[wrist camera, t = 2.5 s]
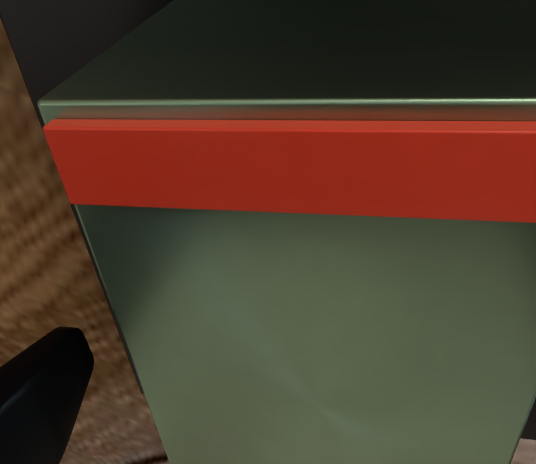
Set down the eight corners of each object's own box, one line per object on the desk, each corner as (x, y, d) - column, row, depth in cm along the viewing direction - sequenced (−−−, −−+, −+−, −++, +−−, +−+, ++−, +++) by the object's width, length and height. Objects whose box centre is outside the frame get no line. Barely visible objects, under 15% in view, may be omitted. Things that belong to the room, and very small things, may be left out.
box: (448, 369, 14) (472, 582, 10) (240, 349, 15) (187, 533, 11) (528, -24, 8) (665, 110, 4) (179, -6, 9) (21, 109, 5)
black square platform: (557, 389, 17) (575, 445, 15) (160, 350, 20) (140, 394, 18) (845, -297, 7) (970, -334, 6) (-7, -186, 10) (-79, -191, 8)
